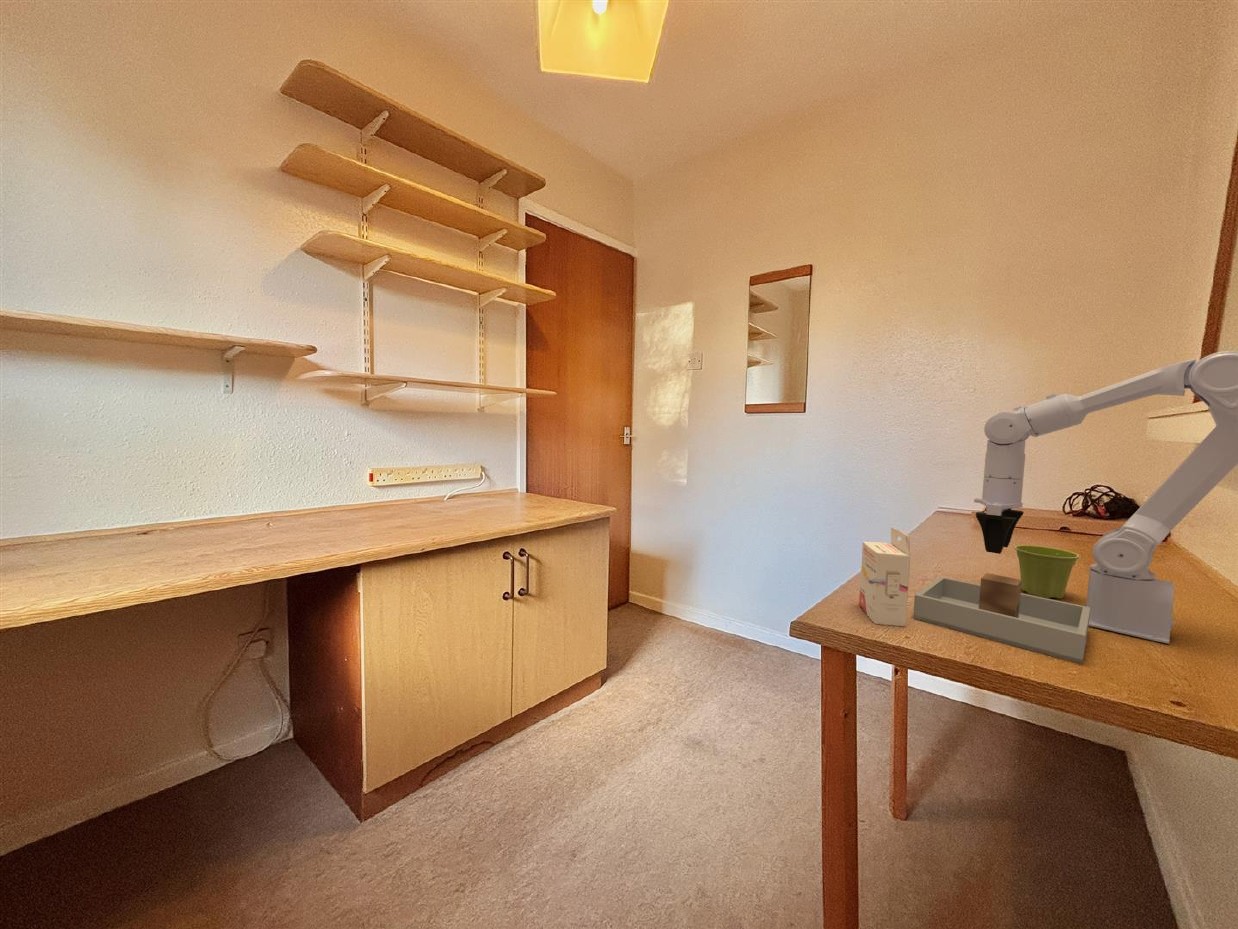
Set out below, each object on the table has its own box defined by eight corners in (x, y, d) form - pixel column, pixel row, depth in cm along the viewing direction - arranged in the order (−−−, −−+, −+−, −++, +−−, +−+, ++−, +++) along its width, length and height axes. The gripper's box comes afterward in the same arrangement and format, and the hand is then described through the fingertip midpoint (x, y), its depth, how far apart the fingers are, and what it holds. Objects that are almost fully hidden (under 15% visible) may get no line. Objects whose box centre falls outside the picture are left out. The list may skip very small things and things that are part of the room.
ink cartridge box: (856, 605, 83) (862, 523, 82) (887, 608, 82) (893, 525, 81) (873, 624, 74) (879, 533, 73) (907, 627, 73) (913, 536, 72)
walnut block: (1018, 622, 75) (1021, 579, 75) (1013, 629, 72) (1017, 585, 72) (983, 613, 79) (986, 573, 78) (977, 620, 75) (981, 578, 75)
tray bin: (1087, 632, 73) (1090, 607, 73) (1082, 664, 63) (1085, 635, 62) (938, 597, 88) (940, 576, 88) (913, 618, 77) (914, 595, 77)
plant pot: (1071, 606, 85) (1075, 560, 84) (1005, 592, 92) (1009, 549, 92) (1078, 596, 91) (1083, 552, 90) (1016, 583, 98) (1020, 542, 97)
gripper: (983, 474, 95) (978, 540, 96) (968, 477, 85) (962, 550, 86) (1029, 477, 89) (1023, 546, 90) (1018, 481, 80) (1012, 559, 81)
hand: (997, 549), depth 88 cm, fingers open, 7 cm apart
